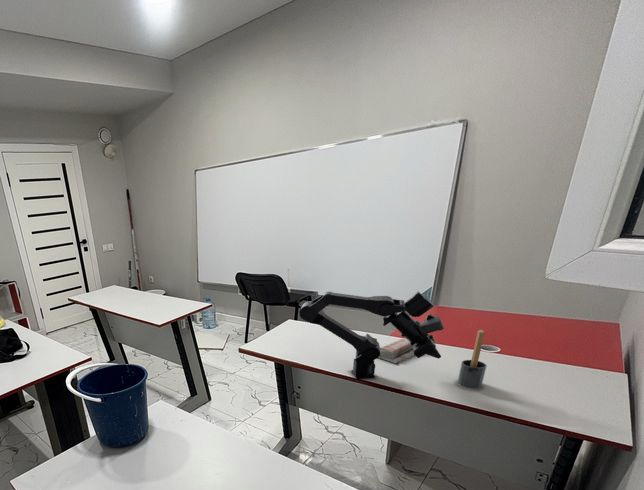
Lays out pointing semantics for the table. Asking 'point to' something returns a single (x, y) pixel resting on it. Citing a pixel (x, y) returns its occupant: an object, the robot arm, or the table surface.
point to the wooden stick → (477, 348)
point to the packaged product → (397, 351)
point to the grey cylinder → (471, 374)
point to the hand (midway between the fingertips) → (439, 357)
